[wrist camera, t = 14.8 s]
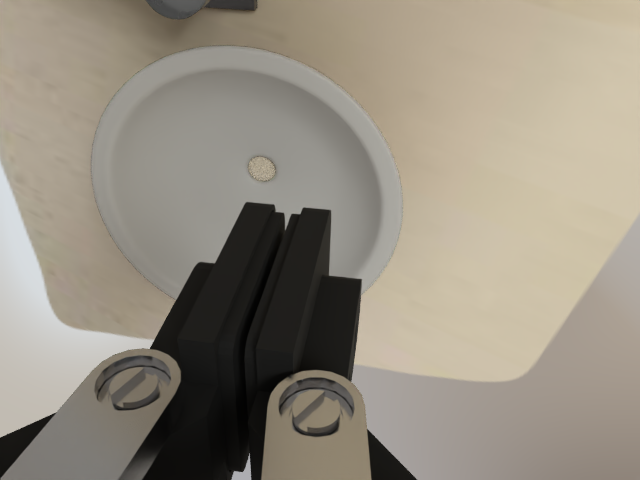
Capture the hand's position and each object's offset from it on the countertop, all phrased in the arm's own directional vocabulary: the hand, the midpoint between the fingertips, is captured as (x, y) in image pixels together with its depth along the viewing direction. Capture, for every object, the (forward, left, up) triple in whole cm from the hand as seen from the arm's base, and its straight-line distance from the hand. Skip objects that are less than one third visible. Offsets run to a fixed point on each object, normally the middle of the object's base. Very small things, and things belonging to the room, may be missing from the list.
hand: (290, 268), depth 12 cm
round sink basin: (+16, -9, -35) cm, 40 cm away
